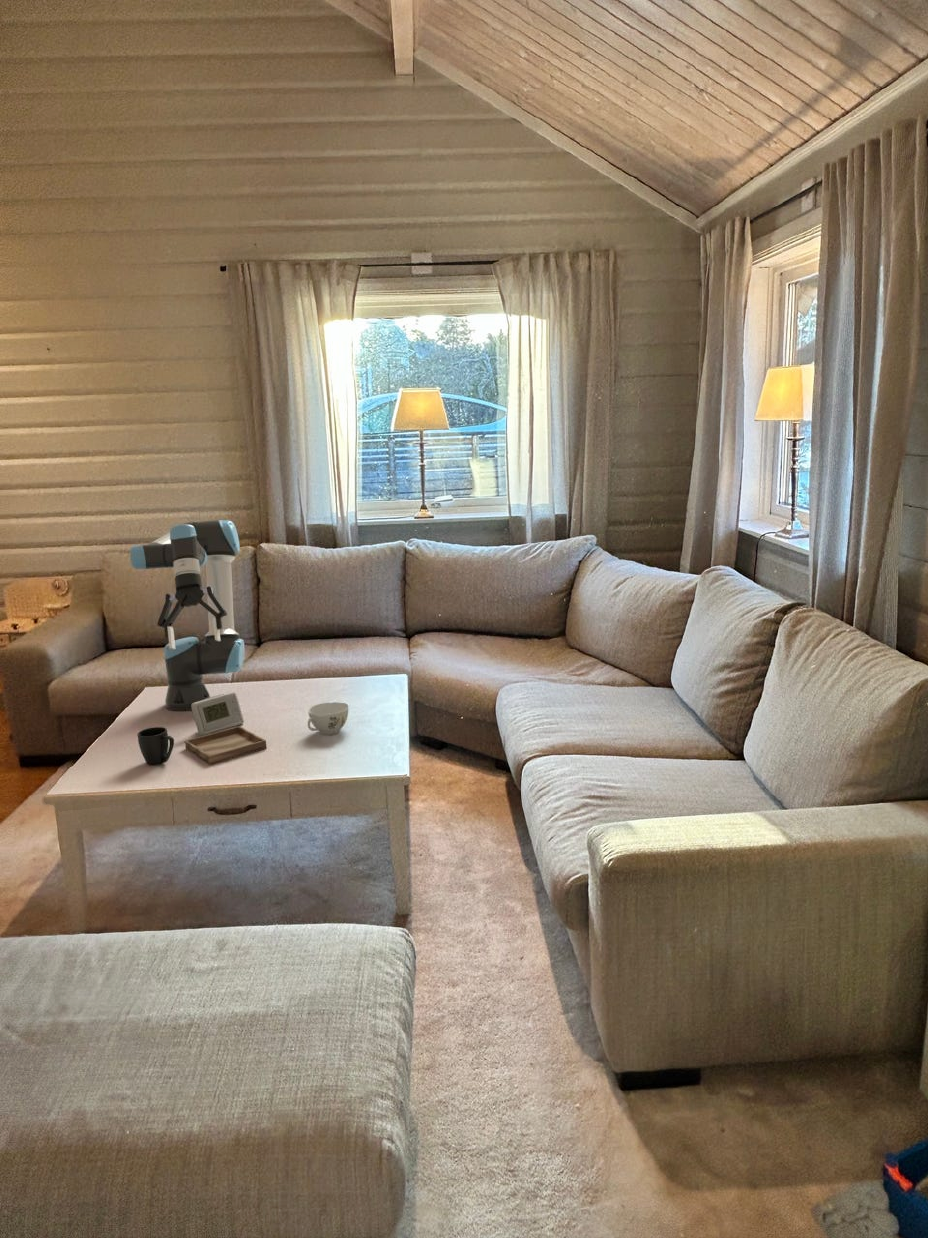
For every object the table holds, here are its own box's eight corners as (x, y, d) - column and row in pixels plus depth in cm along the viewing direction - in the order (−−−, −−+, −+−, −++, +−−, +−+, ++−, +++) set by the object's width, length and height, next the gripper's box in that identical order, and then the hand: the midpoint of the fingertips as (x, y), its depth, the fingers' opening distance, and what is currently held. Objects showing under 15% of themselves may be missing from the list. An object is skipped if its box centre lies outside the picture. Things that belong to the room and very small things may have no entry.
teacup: (332, 722, 288) (330, 698, 286) (358, 729, 280) (356, 705, 278) (295, 736, 277) (293, 711, 275) (322, 744, 269) (320, 719, 267)
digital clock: (198, 738, 279) (194, 706, 277) (190, 731, 287) (186, 699, 284) (248, 727, 288) (245, 695, 285) (238, 719, 295) (235, 689, 293)
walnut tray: (185, 748, 271) (184, 741, 270) (240, 733, 282) (239, 726, 281) (210, 764, 257) (209, 756, 257) (266, 748, 268) (265, 740, 268)
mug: (163, 771, 254) (159, 740, 252) (135, 765, 260) (131, 734, 258) (185, 761, 261) (182, 730, 258) (158, 755, 267) (154, 725, 265)
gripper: (141, 579, 262) (148, 650, 257) (224, 564, 261) (232, 634, 257) (151, 585, 269) (158, 654, 265) (232, 571, 268) (240, 639, 264)
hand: (195, 644), depth 261 cm, fingers open, 13 cm apart
